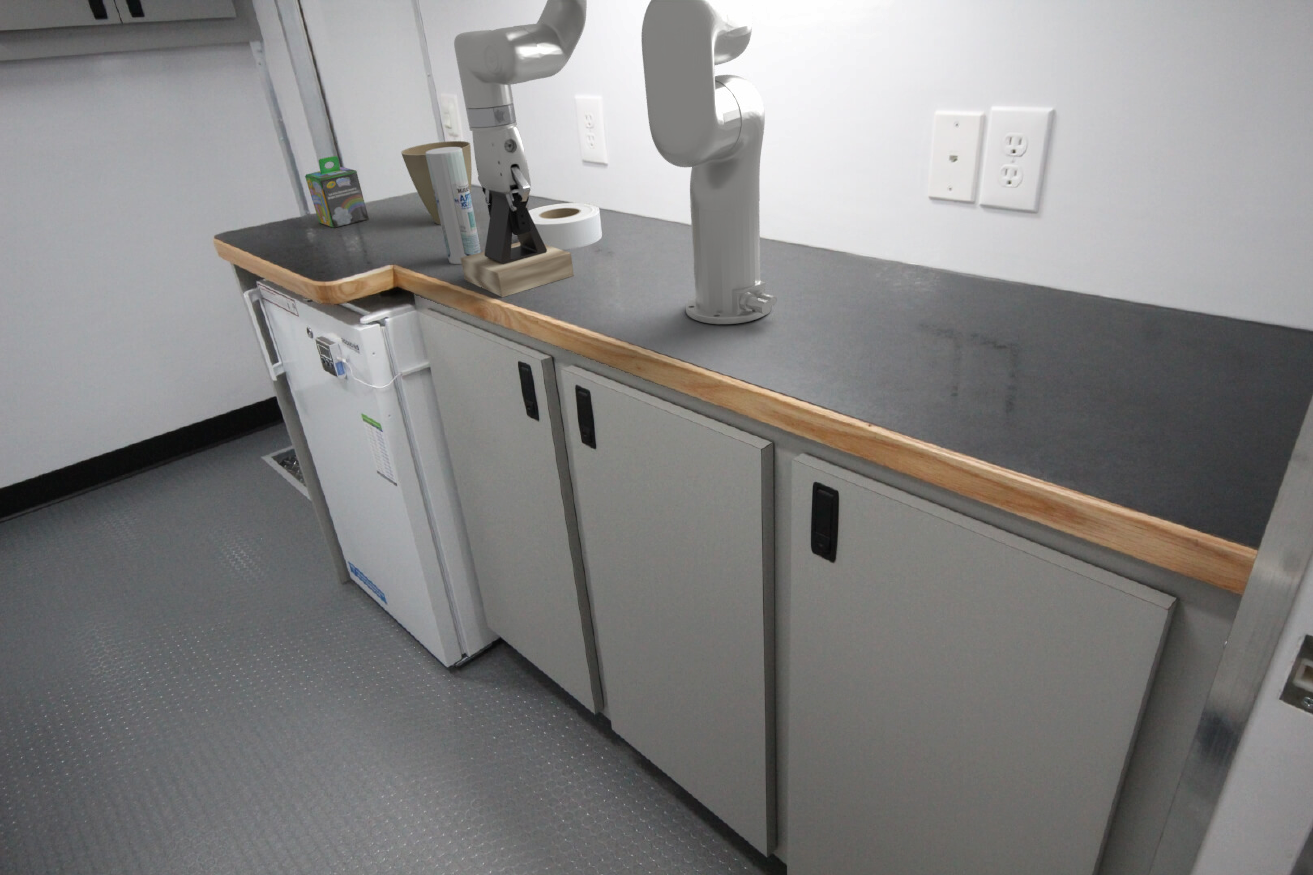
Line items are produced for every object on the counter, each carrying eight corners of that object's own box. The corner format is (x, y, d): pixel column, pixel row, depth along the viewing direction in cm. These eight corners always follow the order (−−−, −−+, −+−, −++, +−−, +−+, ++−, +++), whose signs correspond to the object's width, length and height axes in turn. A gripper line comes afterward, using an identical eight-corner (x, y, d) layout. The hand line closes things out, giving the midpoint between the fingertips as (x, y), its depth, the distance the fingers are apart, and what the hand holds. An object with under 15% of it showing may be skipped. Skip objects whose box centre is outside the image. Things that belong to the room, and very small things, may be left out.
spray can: (456, 254, 155) (434, 147, 145) (487, 253, 154) (467, 146, 144) (442, 264, 149) (418, 154, 140) (474, 264, 148) (452, 152, 138)
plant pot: (416, 218, 185) (399, 147, 177) (479, 209, 188) (466, 138, 180) (419, 233, 172) (402, 157, 165) (487, 222, 176) (473, 147, 168)
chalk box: (354, 215, 194) (337, 151, 186) (370, 219, 188) (353, 154, 180) (317, 223, 188) (298, 159, 181) (333, 229, 182) (314, 162, 175)
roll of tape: (617, 238, 157) (614, 210, 154) (547, 257, 149) (542, 227, 147) (579, 225, 168) (575, 198, 165) (511, 241, 161) (507, 214, 158)
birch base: (573, 275, 137) (570, 253, 135) (502, 297, 130) (498, 273, 128) (533, 260, 147) (529, 239, 145) (464, 279, 140) (460, 257, 138)
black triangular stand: (501, 264, 132) (489, 191, 126) (484, 257, 136) (472, 186, 130) (547, 252, 137) (538, 181, 131) (530, 245, 141) (520, 176, 135)
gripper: (539, 117, 121) (556, 232, 130) (487, 111, 134) (506, 217, 142) (496, 125, 118) (516, 243, 126) (446, 118, 130) (468, 227, 139)
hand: (510, 228), depth 134 cm, fingers open, 6 cm apart
